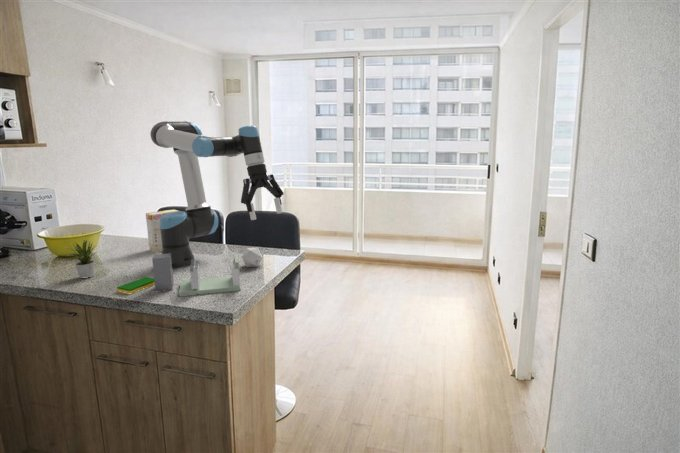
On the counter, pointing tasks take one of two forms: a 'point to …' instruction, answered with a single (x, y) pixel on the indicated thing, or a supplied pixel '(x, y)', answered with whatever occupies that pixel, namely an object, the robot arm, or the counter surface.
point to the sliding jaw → (194, 274)
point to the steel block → (163, 272)
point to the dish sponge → (136, 285)
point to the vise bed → (214, 283)
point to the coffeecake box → (155, 229)
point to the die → (252, 257)
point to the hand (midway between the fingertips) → (267, 216)
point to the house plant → (83, 259)
